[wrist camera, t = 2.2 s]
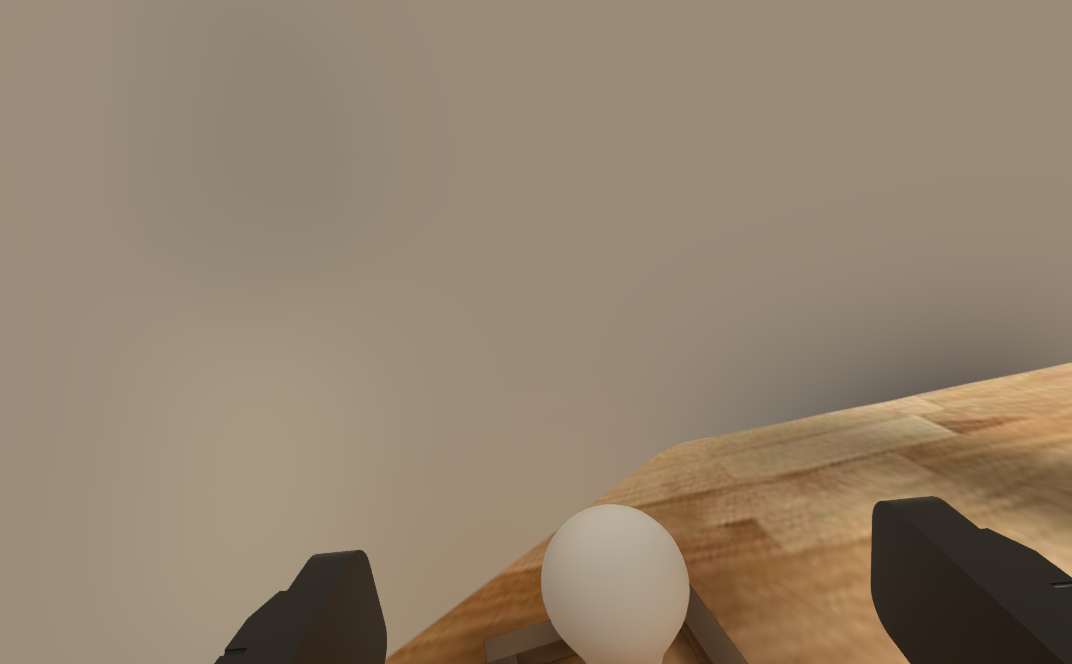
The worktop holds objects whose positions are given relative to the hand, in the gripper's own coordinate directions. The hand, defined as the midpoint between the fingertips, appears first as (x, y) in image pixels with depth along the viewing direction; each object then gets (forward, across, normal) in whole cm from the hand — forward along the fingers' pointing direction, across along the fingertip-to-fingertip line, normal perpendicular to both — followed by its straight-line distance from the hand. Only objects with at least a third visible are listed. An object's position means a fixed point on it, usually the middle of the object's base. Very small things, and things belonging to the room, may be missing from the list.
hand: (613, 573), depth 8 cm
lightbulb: (+12, 0, +18) cm, 21 cm away
